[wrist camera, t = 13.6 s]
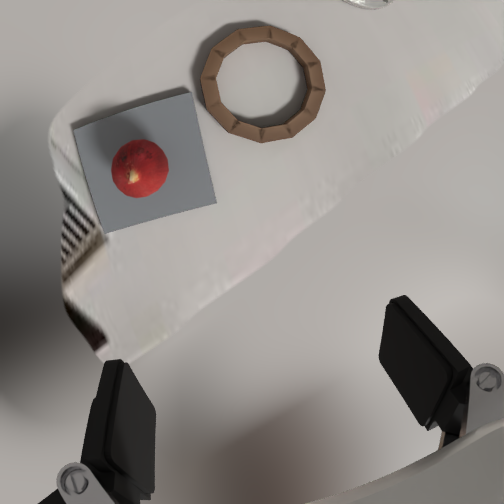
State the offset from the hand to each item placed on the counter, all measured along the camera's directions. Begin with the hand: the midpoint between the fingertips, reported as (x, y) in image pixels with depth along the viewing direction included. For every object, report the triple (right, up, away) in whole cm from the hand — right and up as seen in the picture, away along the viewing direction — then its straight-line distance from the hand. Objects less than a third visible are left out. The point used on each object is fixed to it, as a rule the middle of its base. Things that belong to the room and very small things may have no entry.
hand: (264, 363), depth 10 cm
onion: (-12, +14, +22) cm, 28 cm away
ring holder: (+1, +23, +21) cm, 31 cm away
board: (-13, +14, +22) cm, 29 cm away
